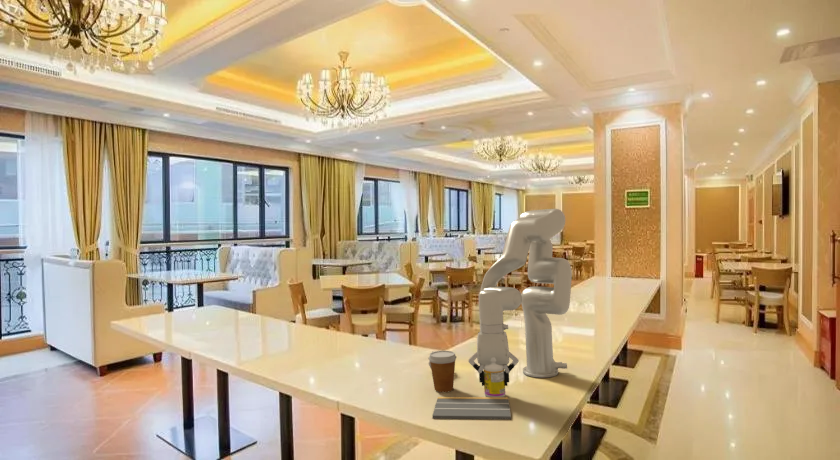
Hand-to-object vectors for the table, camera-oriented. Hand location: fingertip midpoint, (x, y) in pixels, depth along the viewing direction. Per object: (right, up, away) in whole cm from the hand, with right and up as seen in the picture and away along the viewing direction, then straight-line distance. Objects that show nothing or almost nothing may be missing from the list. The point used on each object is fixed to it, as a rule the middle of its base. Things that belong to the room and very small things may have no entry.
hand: (494, 384), depth 144 cm
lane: (-8, -4, -10) cm, 14 cm away
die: (-16, -5, +27) cm, 31 cm away
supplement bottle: (0, -4, 0) cm, 4 cm away
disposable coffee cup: (-16, -5, +8) cm, 18 cm away
